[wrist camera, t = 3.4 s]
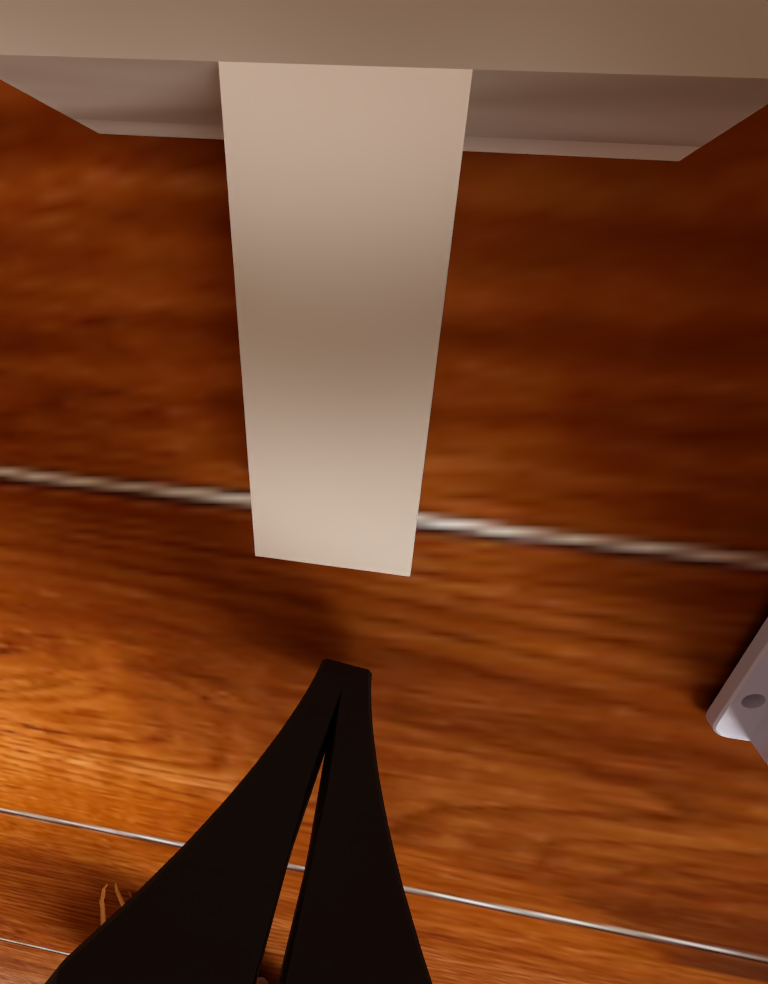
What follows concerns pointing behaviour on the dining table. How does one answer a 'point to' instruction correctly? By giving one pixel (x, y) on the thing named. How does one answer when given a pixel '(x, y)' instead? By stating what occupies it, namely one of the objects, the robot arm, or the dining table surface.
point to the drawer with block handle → (373, 188)
